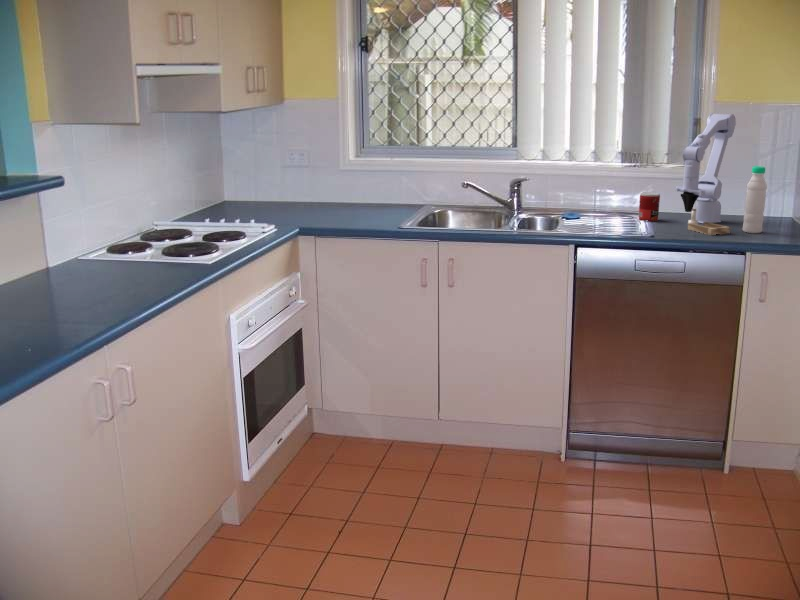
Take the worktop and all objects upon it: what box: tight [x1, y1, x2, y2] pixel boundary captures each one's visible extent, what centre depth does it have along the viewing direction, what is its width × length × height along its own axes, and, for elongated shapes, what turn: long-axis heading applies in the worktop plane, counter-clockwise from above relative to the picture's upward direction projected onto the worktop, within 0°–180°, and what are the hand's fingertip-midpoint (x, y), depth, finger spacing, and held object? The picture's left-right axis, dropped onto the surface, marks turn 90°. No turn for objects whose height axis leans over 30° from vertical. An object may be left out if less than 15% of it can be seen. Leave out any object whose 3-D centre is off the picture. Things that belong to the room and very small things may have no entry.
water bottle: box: [742, 166, 768, 234], centre depth 334 cm, size 7×7×25 cm
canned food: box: [638, 191, 661, 222], centre depth 362 cm, size 8×8×11 cm
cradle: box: [687, 222, 731, 236], centre depth 338 cm, size 9×13×2 cm
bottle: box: [687, 208, 699, 225], centre depth 345 cm, size 4×4×8 cm
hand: (688, 211), depth 347 cm, fingers closed
